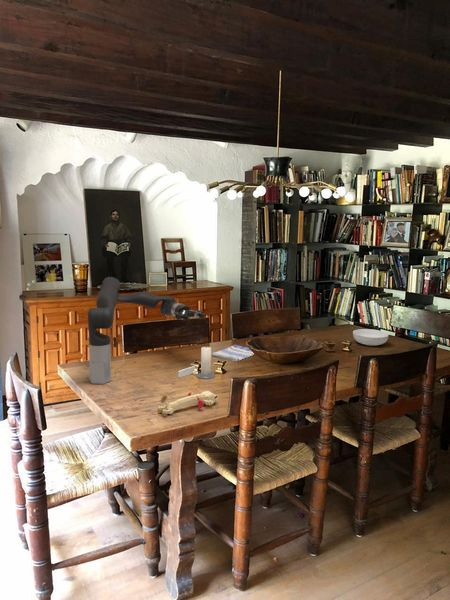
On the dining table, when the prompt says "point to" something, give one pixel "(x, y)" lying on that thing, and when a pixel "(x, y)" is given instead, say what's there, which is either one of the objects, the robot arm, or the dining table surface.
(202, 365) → the candle
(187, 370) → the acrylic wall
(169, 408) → the rope dog toy
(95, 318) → the robot arm
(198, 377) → the coaster
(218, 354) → the dish towel
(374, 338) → the serving bowl
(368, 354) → the dining table surface
